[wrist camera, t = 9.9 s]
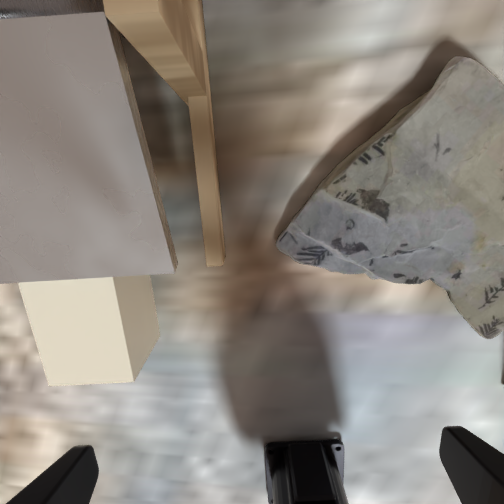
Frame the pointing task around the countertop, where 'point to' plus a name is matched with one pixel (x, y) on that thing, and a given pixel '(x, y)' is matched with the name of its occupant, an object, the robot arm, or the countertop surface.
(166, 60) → the stand
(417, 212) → the fossil rock
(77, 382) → the limestone block
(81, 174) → the trapdoor
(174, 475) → the countertop surface
